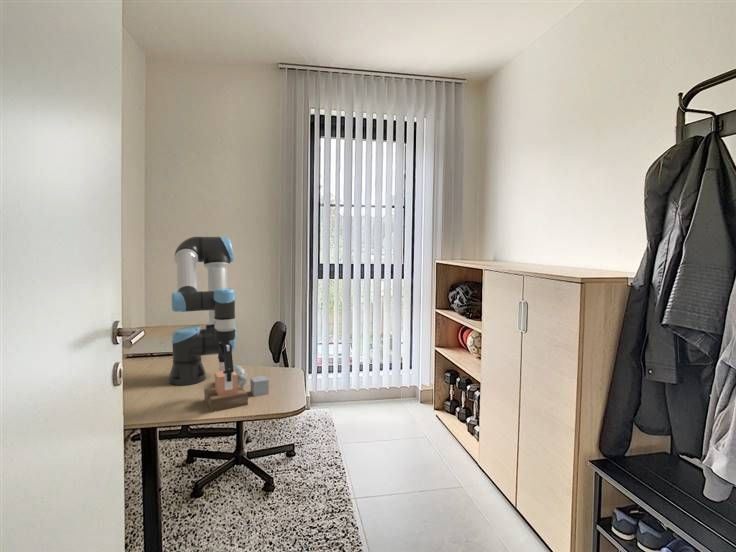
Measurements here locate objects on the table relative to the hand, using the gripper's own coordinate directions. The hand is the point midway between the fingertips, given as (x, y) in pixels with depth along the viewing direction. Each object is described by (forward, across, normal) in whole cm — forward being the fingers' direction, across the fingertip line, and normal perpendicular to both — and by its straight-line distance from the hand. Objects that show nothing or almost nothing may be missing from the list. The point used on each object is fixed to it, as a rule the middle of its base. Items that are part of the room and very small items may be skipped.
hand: (225, 383), depth 164 cm
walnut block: (+8, 0, 0) cm, 8 cm away
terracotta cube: (+3, 0, 0) cm, 3 cm away
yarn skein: (+8, -19, +7) cm, 22 cm away
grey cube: (+8, -5, +14) cm, 17 cm away
